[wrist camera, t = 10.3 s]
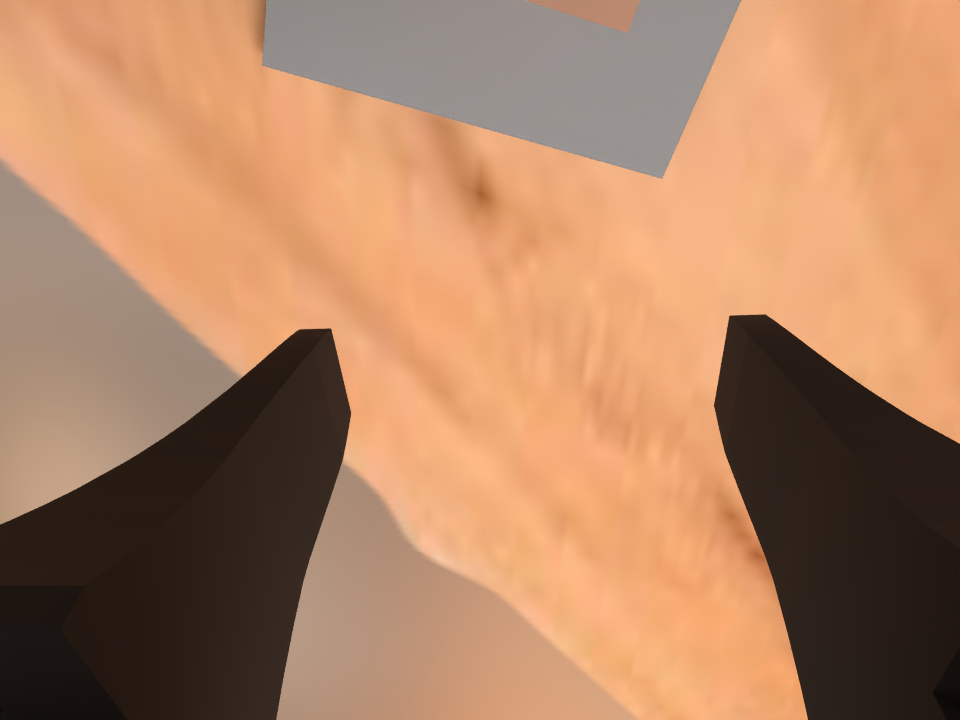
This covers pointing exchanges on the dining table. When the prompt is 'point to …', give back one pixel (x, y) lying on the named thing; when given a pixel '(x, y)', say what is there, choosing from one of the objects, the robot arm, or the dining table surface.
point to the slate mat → (515, 66)
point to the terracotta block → (597, 11)
